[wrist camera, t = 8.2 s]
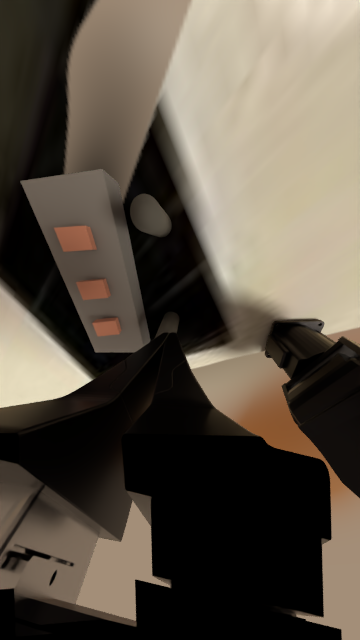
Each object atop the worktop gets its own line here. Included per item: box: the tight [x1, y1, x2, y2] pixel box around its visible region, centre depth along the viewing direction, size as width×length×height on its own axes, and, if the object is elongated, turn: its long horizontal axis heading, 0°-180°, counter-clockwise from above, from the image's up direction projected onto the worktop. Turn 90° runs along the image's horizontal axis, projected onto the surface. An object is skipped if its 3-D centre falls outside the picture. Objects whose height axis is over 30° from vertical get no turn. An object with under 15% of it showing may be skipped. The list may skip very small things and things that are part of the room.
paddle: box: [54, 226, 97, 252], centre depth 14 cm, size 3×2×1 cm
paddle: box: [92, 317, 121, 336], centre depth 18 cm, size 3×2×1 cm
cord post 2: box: [155, 311, 179, 338], centre depth 19 cm, size 2×2×6 cm
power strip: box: [20, 169, 150, 352], centre depth 18 cm, size 8×20×3 cm, turn 4°
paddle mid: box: [76, 279, 111, 300], centre depth 16 cm, size 3×2×1 cm
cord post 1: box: [130, 194, 171, 237], centre depth 13 cm, size 2×2×6 cm
